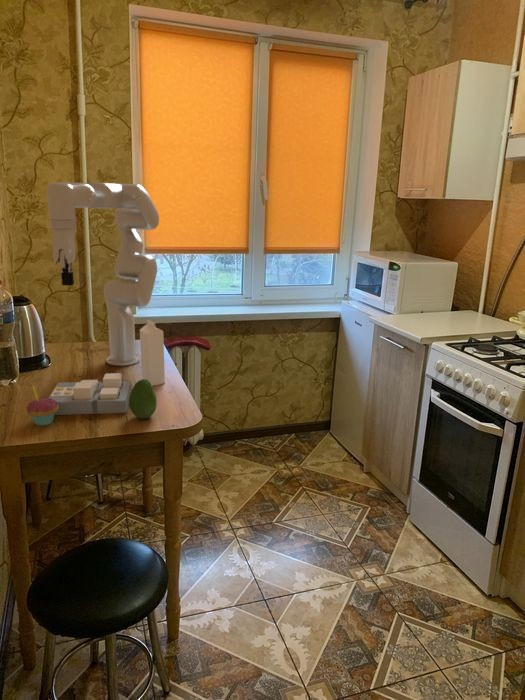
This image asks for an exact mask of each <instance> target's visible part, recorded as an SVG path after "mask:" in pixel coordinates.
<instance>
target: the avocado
mask: <svg viewBox="0 0 525 700" xmlns="http://www.w3.org/2000/svg"><path fill="white" fill-rule="evenodd" d="M157 405H158V404H157V395H156V393H155V390H154V388H153V386H152V385H151V383H150V382H149V381H148V380H147V379H142V378H141V379H140V380H138V381H136V383H135V384H134V385H133V387H132V392H131V395H130V398H129V404H128V407H129V409H130V411H131V413H132V414H133V415H134V416H135V417H136V418H137V419H140V420H146V419H147V420H148V419H149V418H150V417H152V415H153V414H154V413H155V411H156V410H157V409H156V408H157Z"/></svg>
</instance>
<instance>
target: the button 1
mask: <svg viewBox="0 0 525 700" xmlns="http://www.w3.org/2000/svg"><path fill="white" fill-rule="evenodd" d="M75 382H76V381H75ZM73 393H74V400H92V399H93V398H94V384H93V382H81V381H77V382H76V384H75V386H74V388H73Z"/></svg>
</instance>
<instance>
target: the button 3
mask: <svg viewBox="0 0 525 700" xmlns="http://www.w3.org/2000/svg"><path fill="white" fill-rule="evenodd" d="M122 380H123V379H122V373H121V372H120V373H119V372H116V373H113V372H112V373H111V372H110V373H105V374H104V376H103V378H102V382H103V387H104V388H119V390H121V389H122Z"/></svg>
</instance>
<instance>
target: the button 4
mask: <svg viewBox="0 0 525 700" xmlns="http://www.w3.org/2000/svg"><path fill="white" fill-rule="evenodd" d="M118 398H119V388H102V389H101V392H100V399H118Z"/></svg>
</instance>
